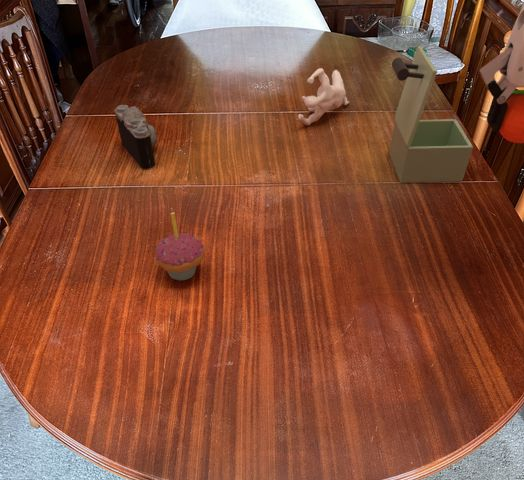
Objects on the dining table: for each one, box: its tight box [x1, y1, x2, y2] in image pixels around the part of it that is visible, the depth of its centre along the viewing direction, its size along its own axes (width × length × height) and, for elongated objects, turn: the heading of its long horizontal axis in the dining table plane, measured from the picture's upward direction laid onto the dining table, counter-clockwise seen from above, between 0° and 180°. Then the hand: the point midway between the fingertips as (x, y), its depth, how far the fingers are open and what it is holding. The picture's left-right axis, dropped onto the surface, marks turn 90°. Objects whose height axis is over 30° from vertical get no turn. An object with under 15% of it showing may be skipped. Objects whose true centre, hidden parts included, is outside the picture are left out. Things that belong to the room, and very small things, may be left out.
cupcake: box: [154, 207, 205, 281], centre depth 86 cm, size 9×8×12 cm
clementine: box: [498, 89, 524, 144], centre depth 74 cm, size 8×7×7 cm
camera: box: [114, 104, 158, 171], centre depth 115 cm, size 15×7×10 cm, turn 31°
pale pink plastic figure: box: [297, 68, 350, 126], centre depth 127 cm, size 13×13×18 cm
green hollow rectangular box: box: [388, 118, 474, 184], centre depth 111 cm, size 14×13×8 cm
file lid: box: [391, 45, 438, 146], centre depth 102 cm, size 14×13×6 cm
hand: (519, 125), depth 75 cm, fingers closed on clementine, 7 cm apart
